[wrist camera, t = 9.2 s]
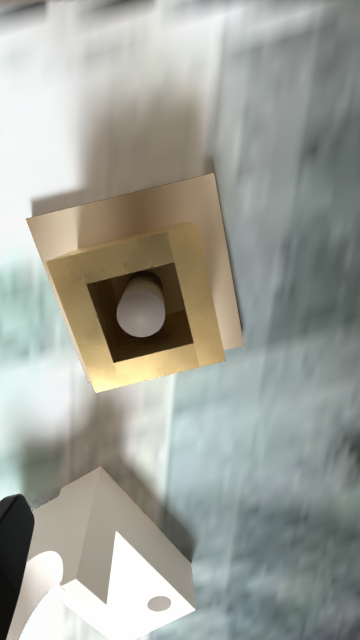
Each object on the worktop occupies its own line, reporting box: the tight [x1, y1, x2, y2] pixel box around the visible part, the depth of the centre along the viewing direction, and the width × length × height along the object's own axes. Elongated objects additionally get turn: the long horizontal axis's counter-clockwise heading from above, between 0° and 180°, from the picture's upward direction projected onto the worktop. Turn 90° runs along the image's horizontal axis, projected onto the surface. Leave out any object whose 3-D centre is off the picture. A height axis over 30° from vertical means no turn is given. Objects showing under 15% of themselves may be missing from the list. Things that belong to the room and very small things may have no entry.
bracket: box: [6, 466, 196, 640], centre depth 21 cm, size 13×7×8 cm, turn 31°
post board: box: [26, 173, 244, 383], centre depth 15 cm, size 10×10×6 cm
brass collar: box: [46, 222, 226, 393], centre depth 15 cm, size 6×6×5 cm
